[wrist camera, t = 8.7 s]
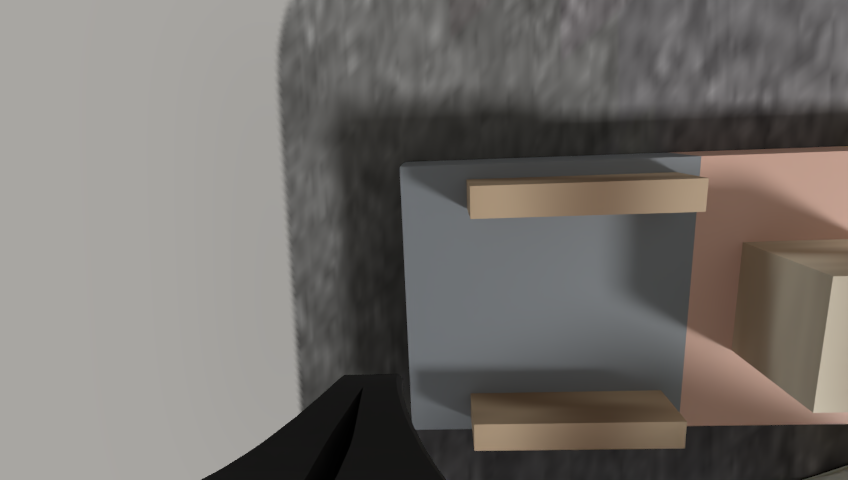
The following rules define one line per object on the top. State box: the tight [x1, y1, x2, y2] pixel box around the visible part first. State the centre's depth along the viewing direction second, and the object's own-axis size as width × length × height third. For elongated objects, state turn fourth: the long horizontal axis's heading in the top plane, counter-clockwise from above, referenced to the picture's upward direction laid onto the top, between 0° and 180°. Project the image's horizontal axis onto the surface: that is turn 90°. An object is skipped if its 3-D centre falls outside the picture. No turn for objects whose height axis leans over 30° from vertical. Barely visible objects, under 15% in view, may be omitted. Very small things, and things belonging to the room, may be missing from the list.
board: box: [400, 146, 848, 430], centre depth 19 cm, size 22×10×2 cm, turn 92°
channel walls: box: [466, 172, 709, 451], centre depth 17 cm, size 7×9×2 cm
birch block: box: [732, 239, 848, 413], centre depth 15 cm, size 4×4×4 cm
